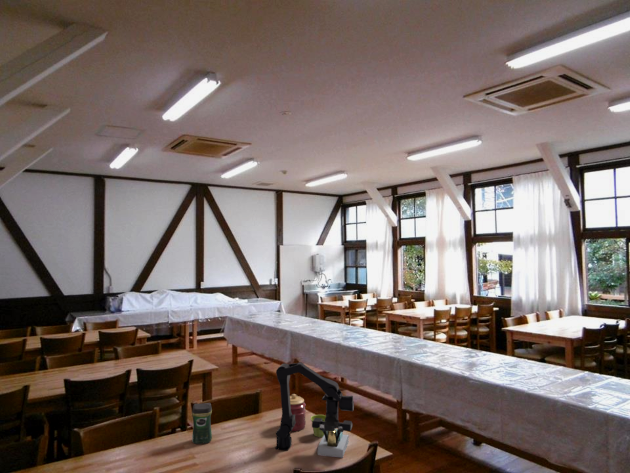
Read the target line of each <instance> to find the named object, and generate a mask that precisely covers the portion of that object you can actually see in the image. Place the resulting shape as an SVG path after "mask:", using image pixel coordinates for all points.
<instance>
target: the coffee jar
mask: <svg viewBox="0 0 630 473" xmlns="http://www.w3.org/2000/svg"><path fill="white" fill-rule="evenodd" d="M212 411H213V409H212V404H211V402H206V403H205V402H204V403H194V404H193V406H192V413H191V414H192V417H193V420H192V421H193V424H192V425H193V426H192V433H191V434H192V435H191V437H192V438H191V442H192V444H195V445H201V444H202V443H203V444H209V443H210V442H211V441H212V439H213V433H212V432H213V431H212V425H211V424H212V423H211V415H212V413H213V412H212Z"/></svg>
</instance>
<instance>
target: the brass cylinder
mask: <svg viewBox="0 0 630 473" xmlns="http://www.w3.org/2000/svg"><path fill="white" fill-rule="evenodd" d="M336 438H337V430H334V431H328V446H330V447H337V443H336Z"/></svg>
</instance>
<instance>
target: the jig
mask: <svg viewBox="0 0 630 473" xmlns="http://www.w3.org/2000/svg"><path fill="white" fill-rule="evenodd" d="M349 439H350V438H349V434H344V433H343V435H342V438H341V440H340V441H339V440H338V443H337V447H330V446H328V442H327V441H326V438H325V435H324V436H323V437H321V439H320V442H319V444H318V445H317V455H318V456H322V457H323V456H324V457H333V458H343V459H344V456H345V453H346V450H347V448H348V445H349Z"/></svg>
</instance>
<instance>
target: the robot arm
mask: <svg viewBox="0 0 630 473" xmlns="http://www.w3.org/2000/svg"><path fill="white" fill-rule="evenodd" d="M298 373H299V374H300V375H302V376H304V377H305V378H306V379H308V380H310V381H311V382H313V383H314V384H316V385H317V386H318V388H320V389H321V391H322V392H323V393H324V396H323V397H322V399H321V400H322V401H326V402H325V404H326V405H325V410H326V411H325V412H326V413H325V416H326V417H325V421H322V418H315V419H314V420H313V422H312V421H311V428H312V429H313V428H319V427H320V428H319V429H320V430H322V431H323V433H324V435H325V438H326V441H327V442H328V431H334V430H335V429H338V430H337V438H336V443H338V439H339V436H340V433H341V432H343V433H344V432H351V431H352V428H353V422H352V420H343V422H340V420H339V410H341V411H344V412H345V411H346V412H354V408H355V401H354V396H353V395H344V394H343V392H342V391H341V389H340V386H339V384H338V382H336V381H334V380H332V379H331V378H326V377H323V375H321V374H319V373H318V372H316V371H315V370H313V369H311V368H310V367H309V366H307V365H305V364H304V362H301V361H300V362H297V363H289V364H288V363H282V364H281V365H279V367H277V368H276V370H275V374H276V378H277V381H278V383H279V386H280V387H279V388H280V400H281V412H282V413H281V418H280V425H279V427H278V429H277V430H276V431H275V437H276V446H275V448H274V449H275V450H280V451H289V450H290V448H291V447H292V442H293V441H292V435H291V432H292V431H291V430H292V429H293V427H294V425H295V423H296V421H295V414H294V415H292V413H291V405H290V396H291V395H290V394H291V393H290V392H291V390H290V379H291V375H293V374H294V375H295V374H298Z"/></svg>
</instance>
